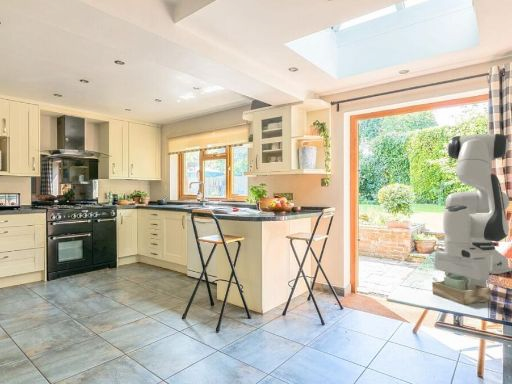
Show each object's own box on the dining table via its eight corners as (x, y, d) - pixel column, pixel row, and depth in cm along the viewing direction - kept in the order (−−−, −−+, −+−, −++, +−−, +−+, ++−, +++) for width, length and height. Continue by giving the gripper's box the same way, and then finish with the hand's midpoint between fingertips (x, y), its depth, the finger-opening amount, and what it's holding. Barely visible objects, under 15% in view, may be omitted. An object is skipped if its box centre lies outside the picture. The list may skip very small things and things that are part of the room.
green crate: (461, 288, 120) (460, 275, 120) (476, 292, 114) (475, 278, 114) (444, 290, 117) (443, 277, 118) (458, 295, 112) (458, 281, 112)
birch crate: (458, 290, 123) (457, 278, 124) (490, 300, 111) (490, 287, 111) (432, 293, 120) (432, 282, 120) (463, 304, 108) (462, 291, 108)
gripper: (429, 246, 125) (430, 280, 125) (477, 254, 105) (479, 295, 105) (441, 245, 127) (443, 279, 126) (491, 253, 107) (493, 293, 107)
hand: (460, 286), depth 116 cm, fingers closed on green crate, 6 cm apart
